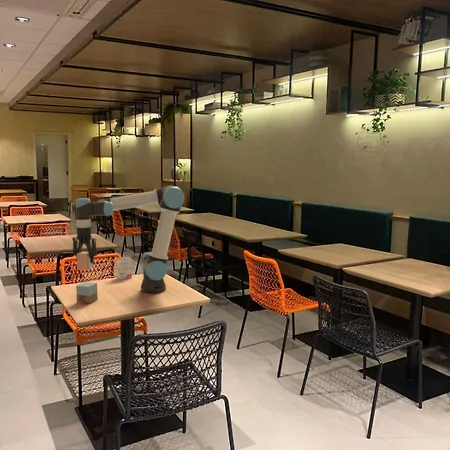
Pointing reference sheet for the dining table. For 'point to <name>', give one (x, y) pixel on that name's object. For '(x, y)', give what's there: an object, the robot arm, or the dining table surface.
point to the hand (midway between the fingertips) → (85, 268)
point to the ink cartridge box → (124, 268)
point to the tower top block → (86, 288)
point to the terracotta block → (83, 260)
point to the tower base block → (87, 298)
